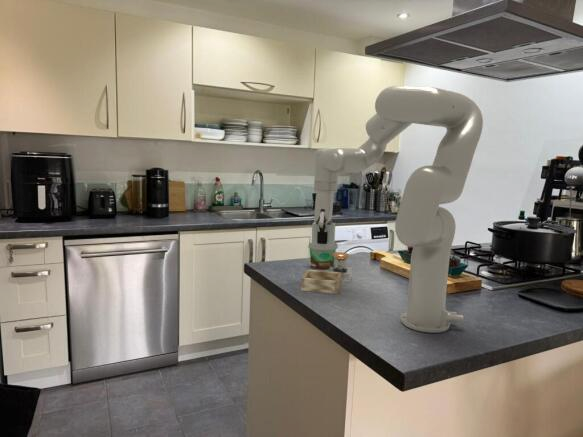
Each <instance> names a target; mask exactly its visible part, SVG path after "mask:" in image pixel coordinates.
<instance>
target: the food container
mask: <svg viewBox="0 0 583 437" xmlns="http://www.w3.org/2000/svg"><path fill="white" fill-rule="evenodd" d="M307 247H308V249H309V258H310V261H309V262H310V268H312V269H315V270H321V271H325V270H326V271H327V270H329V269H330V267H335V258H334V257H333V253H336V250H337V249H339V248H338V247H339V246H338V243H337V241H336V240H335V242H334V245H333V247H331V246H318V245H312V242H309V243H308V246H307Z"/></svg>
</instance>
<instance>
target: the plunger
mask: <svg viewBox="0 0 583 437" xmlns="http://www.w3.org/2000/svg"><path fill="white" fill-rule="evenodd" d="M333 257H334V258H335V259H334V267H335V272H344V273H345V272H346V268H347V259H348V258H350V255H349V253H347V252H340V251H337V252H335V253H333Z"/></svg>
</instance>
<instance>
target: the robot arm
mask: <svg viewBox="0 0 583 437" xmlns="http://www.w3.org/2000/svg"><path fill="white" fill-rule="evenodd" d="M374 109H375V114H374V115H373V116H372V117H370V118H369V119H368V121H367V122H365V123H366V124H365V132H366V134H367V136H368V139H367V140H366V141H365V142H364V143H362V144H361V145H360V146H359V147H358V148H351V147H350V148H349V147H345V148H344V147H338V148H337V147H336V148H318V149H316V151H315V155H314V156H315V157H314V180H313V181H314V183H313V184H314V185H313V192H316V194H315V203H314V204H315V205H314V214H313V215H314V217H313V219H314V220H313V221H314V222H317V221H318V220H319V224H318V234H317V243H318V244H327V235H328V232H327V223H328V222H330V221H332V218H333V208H334V193H338V182H339V174H348V173H352V174H354V173H355V174H357V173H361V172H364V171H366V170H367V169H369V168H370V167H371V166H373V165H374V164H375V163H376V162H377V161H379V160H380V159H381V157H382V156H383V155H384V153H385V151H386V148H387V145H388V144H389V143H390V142H391V141H393V140H394V139H395V138H396V137H398V135H400V134H401V133H402V132H404V131H405V130H406V129H407V128H408V127H410V126H411V125H412V124H417V125H423V126H431V127H432V126H433V127H439V128H440V127H442V128H445V129H446V132H445V134H444V136H443V137H442V139H441V140H440V142H439V144H438V147H437V150H436V154H435V156H434V159H433V162H432V164H431V165H424V166H420V167H419V168H417V169H415V170H414V171H413V172H412V173H411V174H410V176H409V177H408V179H407V181H406V184H405V186H404V190H403V194H402V197H401V200H400V204H399V208H398V211H397V215H396V219H395V224H394V225H395V226H394V228H395V236H396V237H397V239H398V241H399V242H400V243H401V244H402V245H403V246H406V247H408V248H412V251H411V256H410V266H409V278H408V292H407V293H408V294H407V305H406V306H407V307H406V311H405V312H402V314H400V319H399V320H400V322H401V323H402V325H404V326H405V327H406V328H408V329H412V330H414V331H418V332H422V333H431V334H432V333H443V332H446V331H448V330H449V329H450V326H451V322H456V323H464V320H465V319H464V318H465V317H464V314H457V311H448V310H447V308H446V301H447V300H446V299H447V288H448V277H449V270H450V269H449V267H450V258H451V253H452V246H453V243H454V240H455V235H456V227H457V226H456V221H455V217H454V216H453V214H452V213H451V212H450V211H449V210H448V209H446V208H445V207H442V206H440V205H445V204H450V203H454V202H455V201H457V200H458V199H459V198H460V197H461V196H462V194H463V190H464V188H465V184H466V181H467V178H468V175H469V172H470V169H471V166H472V163H473V159H474V155H475V153H476V149H477V148H478V144H479V142H480V139H481V135H482V132H483V127H484V125H483V124H484V119H483V115H482V111H481V110H480V107H479V106H478V105H477V103H476V102H475V101H474V100H472V99H471V98H470V97H468V96H466V95H464V94H462V93H460V92H455V91H450V90H445V89H443V88H437V87H429V86H401V85H391V86H388V87H385V88H384V89H382V91H380V92H379V94H378V95H377V97H376V99H375V102H374ZM324 221H326V222H324ZM324 224H325V225H324Z"/></svg>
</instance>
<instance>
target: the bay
mask: <svg viewBox="0 0 583 437" xmlns="http://www.w3.org/2000/svg"><path fill="white" fill-rule="evenodd" d="M328 271H329V270H326V271H325V270H317V269H315V270H313V269H306V271H305V272H304V274H303V276H302V277H301V281H300V282H301V285H300V286H301V287H300V290H301V291H304V292H305V291H306V292H313V293H314V292H315V293H323V294H324V293H325V294H333V295H334V294H336V295H338V294H339V292H340V288H341V285H342V282H341V273H340V272H328Z"/></svg>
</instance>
